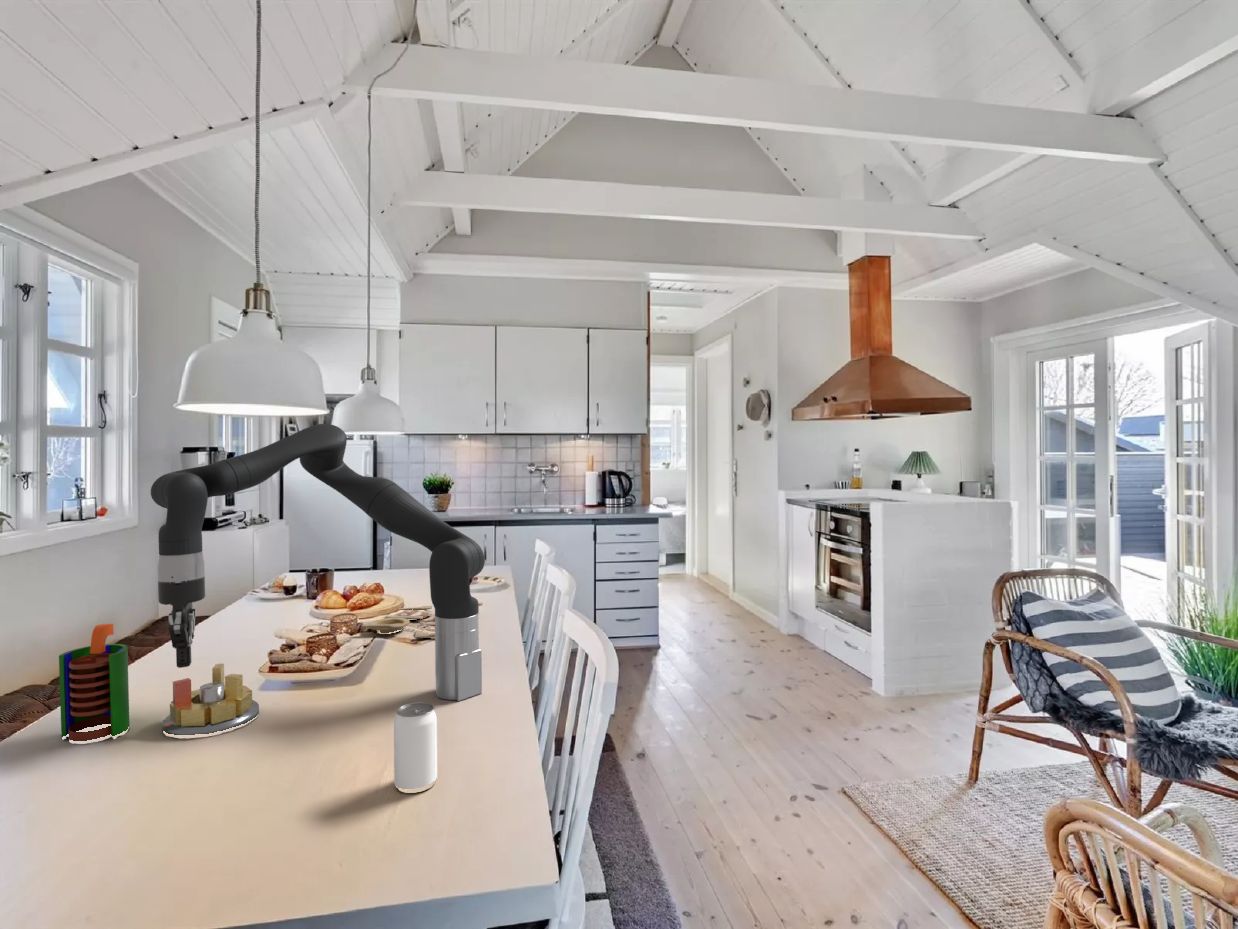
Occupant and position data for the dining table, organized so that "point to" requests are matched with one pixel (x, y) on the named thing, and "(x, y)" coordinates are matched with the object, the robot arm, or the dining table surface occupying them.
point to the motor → (94, 688)
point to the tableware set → (402, 623)
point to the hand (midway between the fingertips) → (184, 666)
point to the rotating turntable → (207, 696)
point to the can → (415, 745)
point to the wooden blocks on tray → (195, 714)
